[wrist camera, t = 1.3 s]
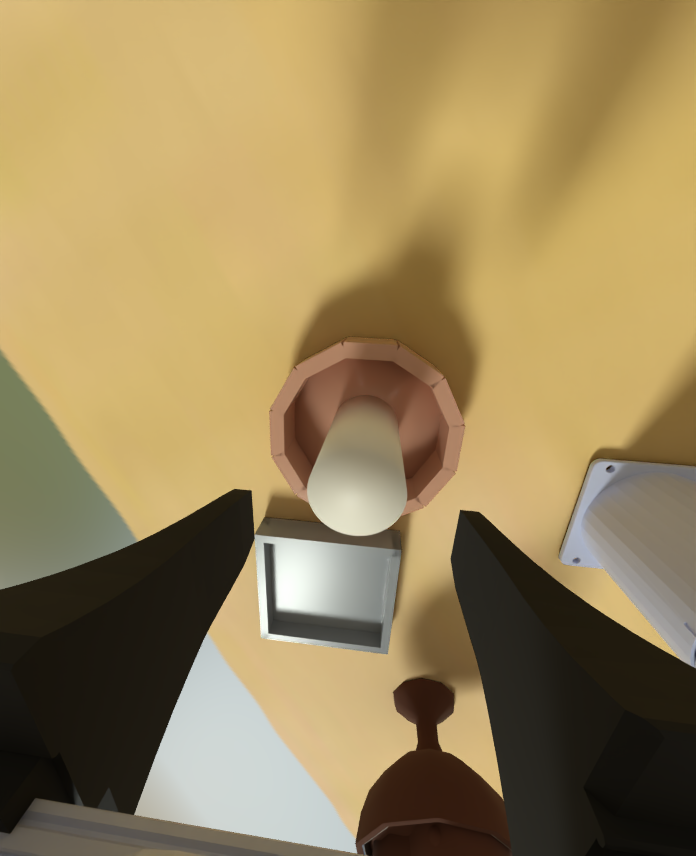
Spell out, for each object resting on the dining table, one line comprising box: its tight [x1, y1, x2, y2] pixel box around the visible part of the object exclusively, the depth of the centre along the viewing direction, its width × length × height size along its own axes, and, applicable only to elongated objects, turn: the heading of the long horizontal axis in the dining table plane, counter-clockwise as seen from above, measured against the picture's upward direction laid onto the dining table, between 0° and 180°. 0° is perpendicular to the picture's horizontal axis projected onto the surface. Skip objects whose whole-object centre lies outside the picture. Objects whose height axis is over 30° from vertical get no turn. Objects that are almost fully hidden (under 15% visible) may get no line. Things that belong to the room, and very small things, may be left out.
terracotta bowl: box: [269, 337, 465, 516], centre depth 20 cm, size 11×11×3 cm
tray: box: [255, 517, 401, 654], centre depth 25 cm, size 10×10×2 cm
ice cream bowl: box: [355, 678, 512, 856], centre depth 23 cm, size 11×11×15 cm
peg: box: [307, 395, 407, 536], centre depth 17 cm, size 4×4×8 cm
